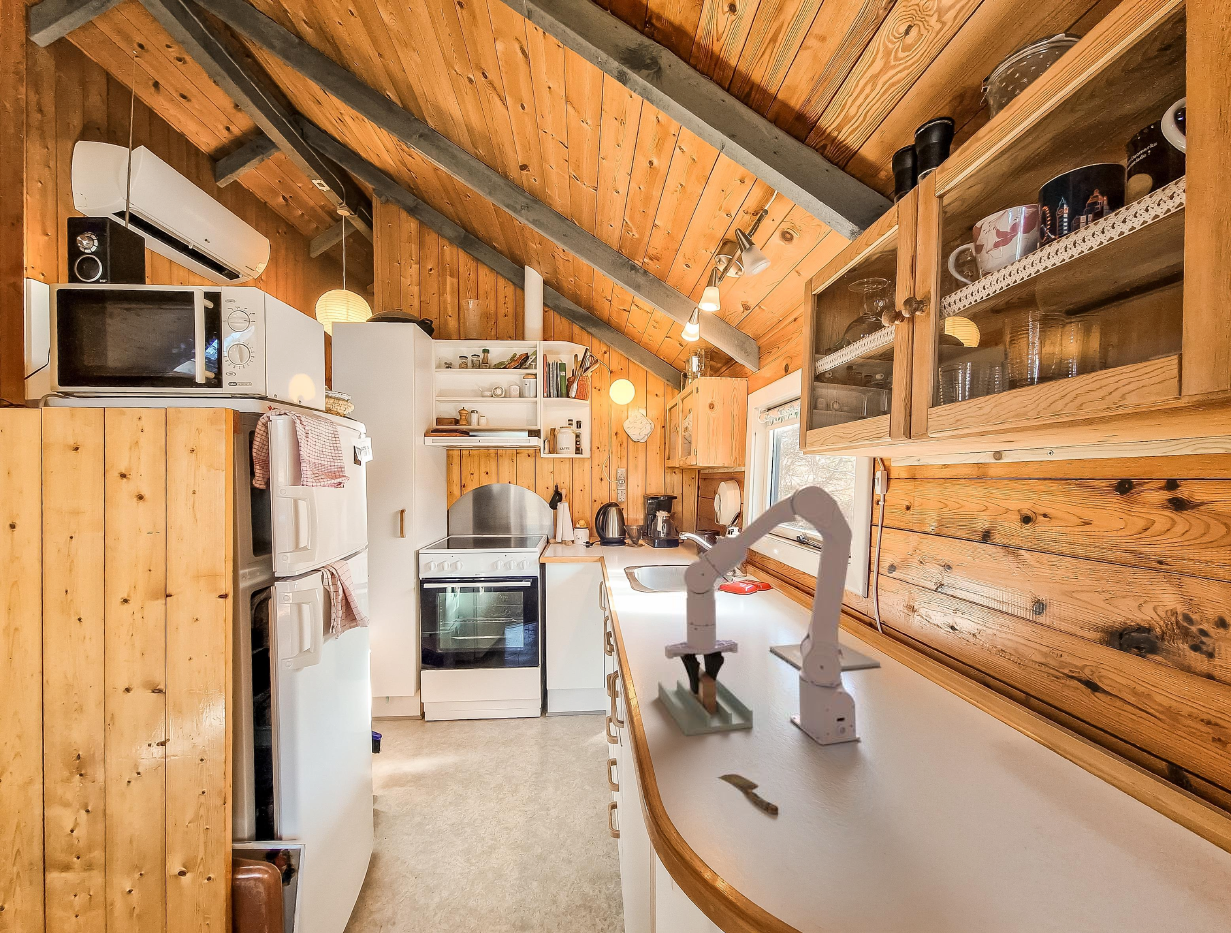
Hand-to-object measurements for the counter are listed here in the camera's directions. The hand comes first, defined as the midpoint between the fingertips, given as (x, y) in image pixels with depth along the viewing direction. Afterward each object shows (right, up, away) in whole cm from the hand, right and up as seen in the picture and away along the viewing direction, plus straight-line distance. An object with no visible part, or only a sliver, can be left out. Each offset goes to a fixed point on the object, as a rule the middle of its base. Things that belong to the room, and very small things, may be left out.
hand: (702, 691), depth 95 cm
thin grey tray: (+35, -5, +27) cm, 45 cm away
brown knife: (+2, -4, -24) cm, 25 cm away
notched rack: (0, -4, 0) cm, 4 cm away
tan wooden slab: (0, -3, 0) cm, 3 cm away
